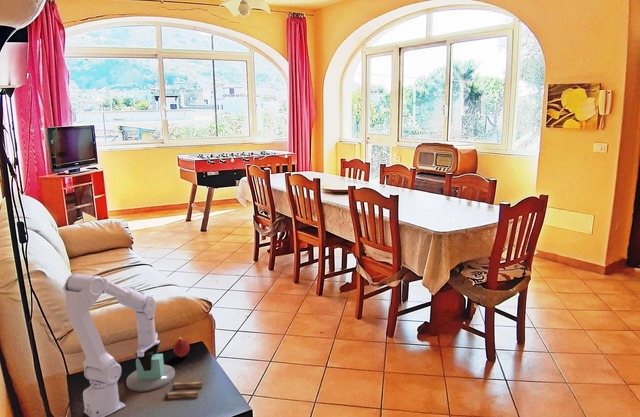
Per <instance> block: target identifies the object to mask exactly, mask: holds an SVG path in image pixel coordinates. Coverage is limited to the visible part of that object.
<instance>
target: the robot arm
mask: <svg viewBox="0 0 640 417" xmlns="http://www.w3.org/2000/svg"><path fill="white" fill-rule="evenodd" d="M62 290H63V293H64V294H65V313H66V316H67V319H68V320H69V322H70V324H71V327H72V329H73V332H74V333H75V336H76V338H77V340H78V342H79V345H80V346H81V349H82V352H83V354H84V356H85V359H84V361H83V362H82V365H83V369H84V371H83V374H84V375H83V376H84V377H85V378H86V379H87V380H88V381H89V384H90V385H89V386H88V387H87V388H85V389H83V392H82V398H83V399H82V400H83V406H84V410H83V414H86V415H87V416H88V417H107V416H109V415H111V414H113V413H115V412H117V411H119V410H121V409H123V408H125V407H126V404H125V403H124V402H122V401H120V395H119V394H120V393H119V387H118V386H119V385H118V381H119V379H120V378H121V376H122V366H121V365H120V363H118V362H117V361H116V360H115V358H114V356H112V355H111V354H110V353H108V352H107V351H106V348H105V346H104V344H103V341H102V338H101V337H100V333H99V332H98V328H97V327H96V325H95V322H94V320H93V319H94V318H93V316H92V315H91V313H90V309H91V308H93V307H94V305H95V304H96V302H97V301H98V300H99V299H100V297H101V295H103V294H107V295H108V296H109V295H110V296H112V297H114V298H117V302H118V303H119V304H120V305H122V306H124V307H126V308H129V309H130V310H131V311H132V312H134V313H135V321H136V330H137V350H136V352H135V357H136V359H137V358H138V359H139V361H140V362H141V364H142V367H143V369H144V371H150V370H151V360H152V355H153V354H158V351H159V346H160V344H161V340H159V338H158V337H159V336H158V332H156V325H155V324H156V322H155V315H156V309H157V306H158V305H157V304H158V302H157V301H156V300H155V299H154V297H152V296H149V295H148V296H147V295H145V293H144V292H143V291H138V290H136V288H135V287H134V286H127V287H124V288H123V287H121V286H120V285H117V284H116V283H114V282H112V281H110V280H109V279H107V278H106V277H102V276H100V275H89V274H82V273H78V272H76V273H75V272H74V273H72V274H71V275H69V276H68V277H67V279H66V280H65V283H64V284H63V287H62Z"/></svg>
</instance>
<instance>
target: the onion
mask: <svg viewBox="0 0 640 417" xmlns="http://www.w3.org/2000/svg"><path fill="white" fill-rule="evenodd" d="M189 352H190V343H189V342H188V341H187V340H186V339H184V338H182V337H180V336H179V337H178V339H177V341H176V342H175V343H174V344H173V353H174V354H175V355H176V356H177V357H180V358H184V357H185V356H186V355H188V354H189ZM183 356H184V357H183Z"/></svg>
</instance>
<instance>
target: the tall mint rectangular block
mask: <svg viewBox="0 0 640 417" xmlns="http://www.w3.org/2000/svg"><path fill="white" fill-rule="evenodd" d="M164 365H165V363H164V354H163V353H157V354H153V355H152V360H151V370H150V371H144V369H143V367H142V364H141V362H140V361H139V359H138V358H137V357H136V359H135V366H136V367H135V368H136V370H137V378H138V379H154V378H161V377H162V376H163V374H164V372H165V371H164Z"/></svg>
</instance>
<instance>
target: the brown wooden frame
mask: <svg viewBox="0 0 640 417" xmlns="http://www.w3.org/2000/svg"><path fill="white" fill-rule="evenodd" d="M170 383H171V382H170ZM203 387H204V382H203V381H191V382H189V381H188V382H172V383H171V384H170V385H169V387H168V388H167V391H166V393H165V394H164V395H165V399H168V400H169V399H183V398H184V399H188V398H199V396H200V395H199V394H200V393H199V390H198V391H197V390H196V391H195V390H194V391H173V390H175V389H198V388H199V389H200V388H203Z"/></svg>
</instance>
